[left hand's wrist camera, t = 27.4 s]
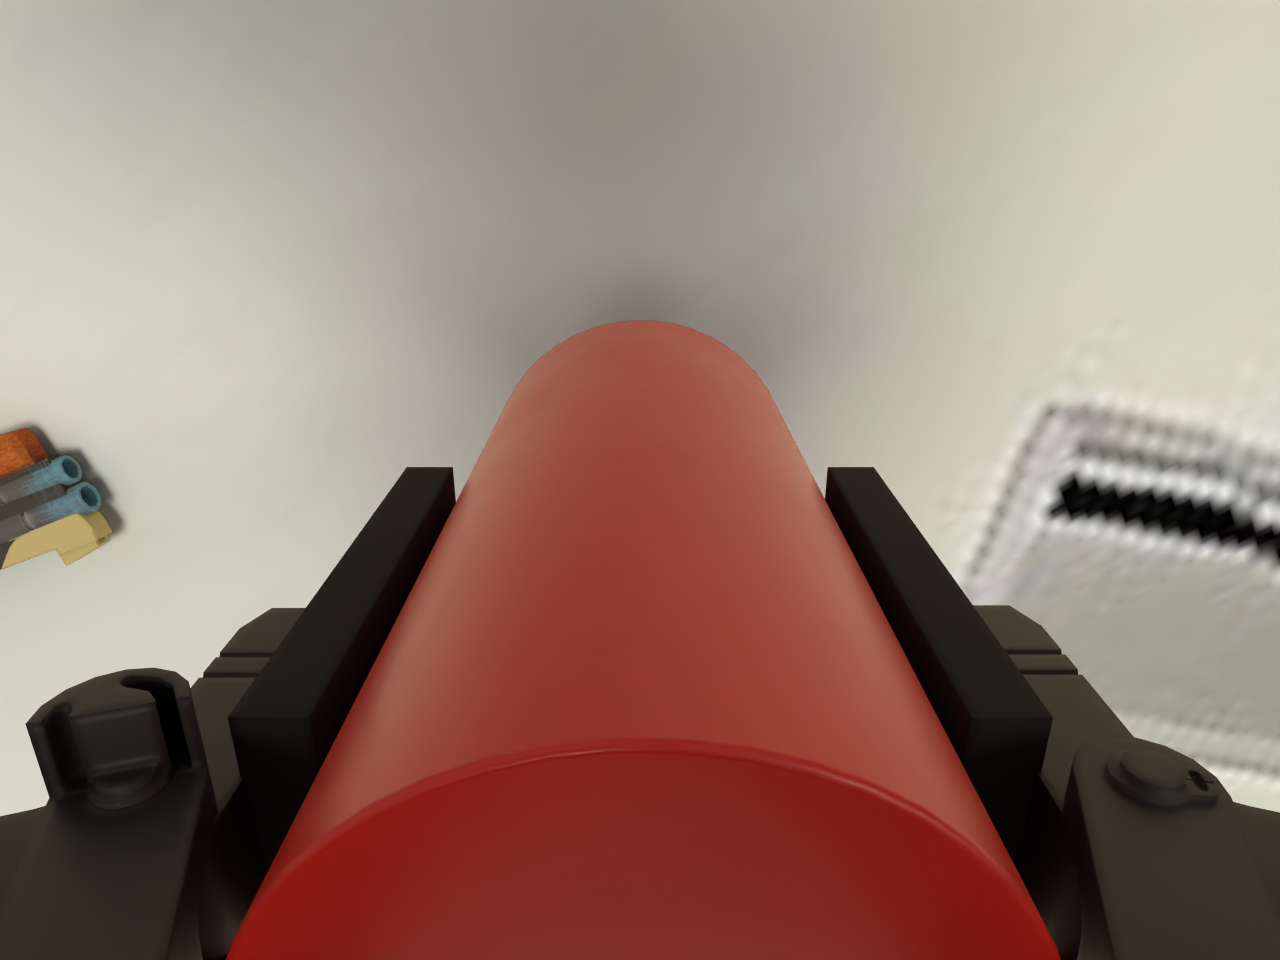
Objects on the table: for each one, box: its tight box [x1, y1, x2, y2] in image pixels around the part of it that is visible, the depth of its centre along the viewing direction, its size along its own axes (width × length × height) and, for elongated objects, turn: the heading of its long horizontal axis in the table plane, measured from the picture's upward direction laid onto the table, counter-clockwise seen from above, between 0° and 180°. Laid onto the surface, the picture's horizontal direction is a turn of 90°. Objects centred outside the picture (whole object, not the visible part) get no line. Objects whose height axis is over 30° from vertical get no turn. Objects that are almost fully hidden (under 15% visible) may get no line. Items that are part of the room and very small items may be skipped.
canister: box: [226, 320, 1061, 960], centre depth 12 cm, size 6×6×13 cm
